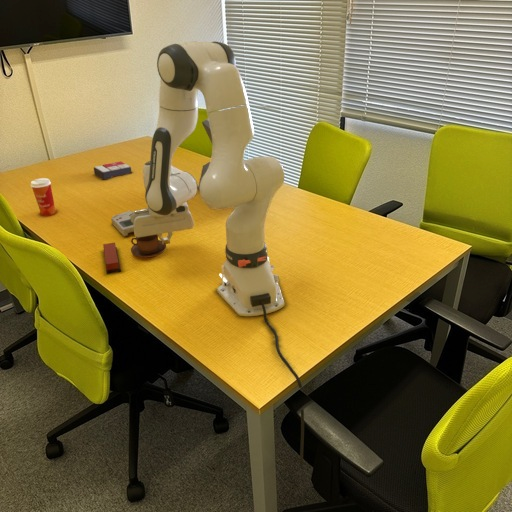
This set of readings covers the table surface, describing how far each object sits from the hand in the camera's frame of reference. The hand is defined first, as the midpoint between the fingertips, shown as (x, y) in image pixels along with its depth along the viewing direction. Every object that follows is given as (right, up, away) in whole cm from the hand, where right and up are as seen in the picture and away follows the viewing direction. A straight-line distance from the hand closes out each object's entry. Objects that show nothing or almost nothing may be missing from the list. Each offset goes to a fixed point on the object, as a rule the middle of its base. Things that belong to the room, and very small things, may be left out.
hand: (166, 243), depth 163 cm
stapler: (-17, -6, -5) cm, 19 cm away
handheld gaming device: (-18, +6, +17) cm, 25 cm away
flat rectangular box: (-40, +37, +72) cm, 90 cm away
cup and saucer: (-6, -3, 0) cm, 7 cm away
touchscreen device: (+18, +23, +45) cm, 54 cm away
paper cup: (-55, +13, +31) cm, 65 cm away
